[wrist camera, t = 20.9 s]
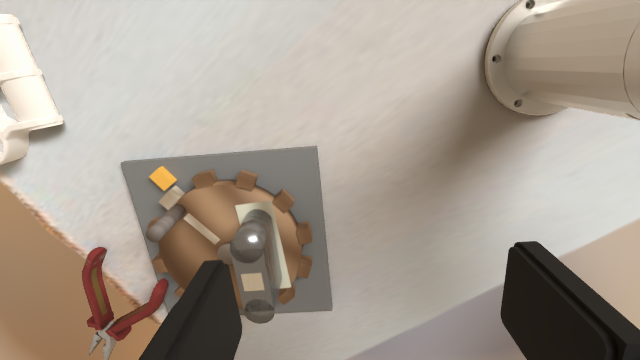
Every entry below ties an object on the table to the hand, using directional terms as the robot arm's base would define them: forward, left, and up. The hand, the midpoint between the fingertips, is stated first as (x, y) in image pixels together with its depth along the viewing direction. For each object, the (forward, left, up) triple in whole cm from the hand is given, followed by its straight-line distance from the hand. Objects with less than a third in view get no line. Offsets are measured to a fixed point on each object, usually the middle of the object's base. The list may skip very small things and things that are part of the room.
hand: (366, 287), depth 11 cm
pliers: (+35, +23, -28) cm, 50 cm away
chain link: (+11, +14, -25) cm, 31 cm away
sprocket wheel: (+15, +14, -28) cm, 35 cm away
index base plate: (+15, +14, -28) cm, 35 cm away
